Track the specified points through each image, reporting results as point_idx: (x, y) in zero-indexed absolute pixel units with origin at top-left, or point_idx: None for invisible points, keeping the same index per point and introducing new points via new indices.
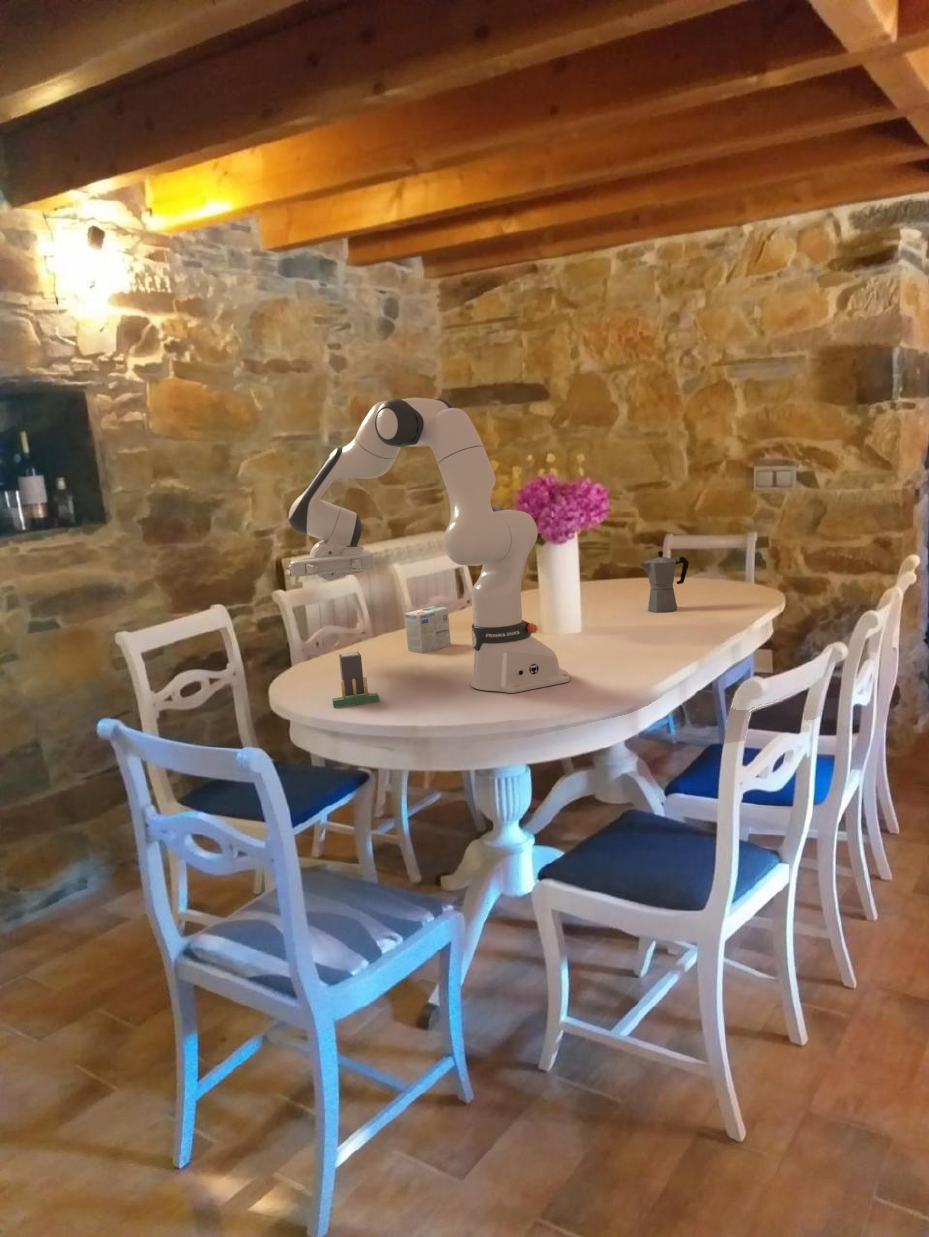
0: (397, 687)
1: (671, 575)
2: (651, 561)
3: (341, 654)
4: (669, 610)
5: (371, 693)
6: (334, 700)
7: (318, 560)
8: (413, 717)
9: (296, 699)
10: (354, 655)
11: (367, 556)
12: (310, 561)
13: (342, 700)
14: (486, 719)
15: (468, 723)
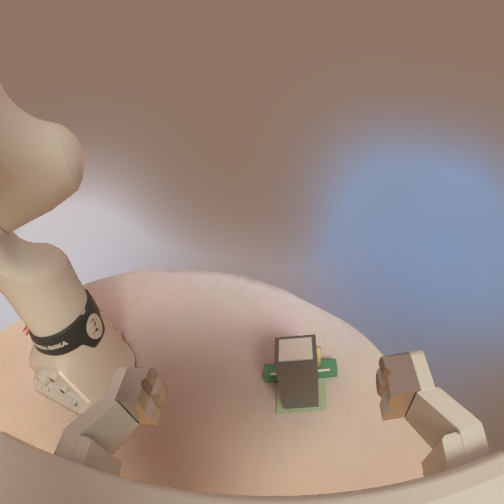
0: (217, 431)
1: None
2: None
3: (312, 351)
4: None
5: (273, 373)
6: (333, 359)
7: (388, 486)
8: (242, 300)
9: (401, 426)
10: (287, 339)
11: (15, 437)
12: (460, 467)
13: (321, 361)
14: (185, 278)
15: (203, 273)
